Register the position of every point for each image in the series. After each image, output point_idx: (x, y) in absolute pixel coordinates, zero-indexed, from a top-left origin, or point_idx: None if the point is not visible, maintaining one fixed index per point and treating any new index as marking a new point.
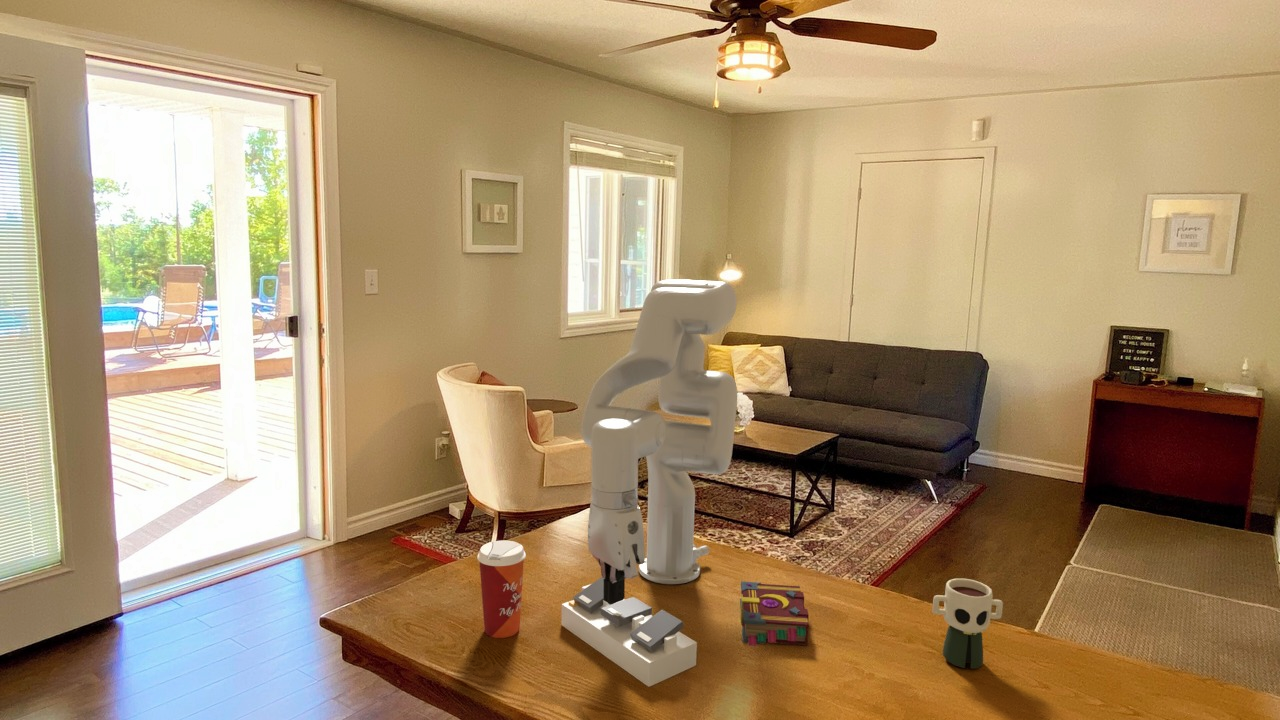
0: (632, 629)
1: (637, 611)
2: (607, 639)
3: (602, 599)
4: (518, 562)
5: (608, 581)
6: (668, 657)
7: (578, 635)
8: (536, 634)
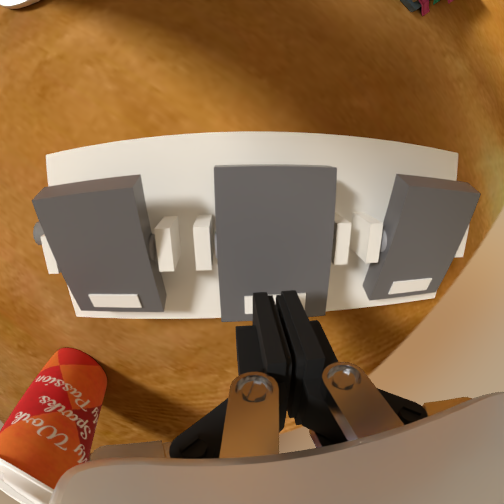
0: None
1: (325, 233)
2: None
3: (152, 269)
4: None
5: (300, 423)
6: None
7: None
8: (114, 342)
